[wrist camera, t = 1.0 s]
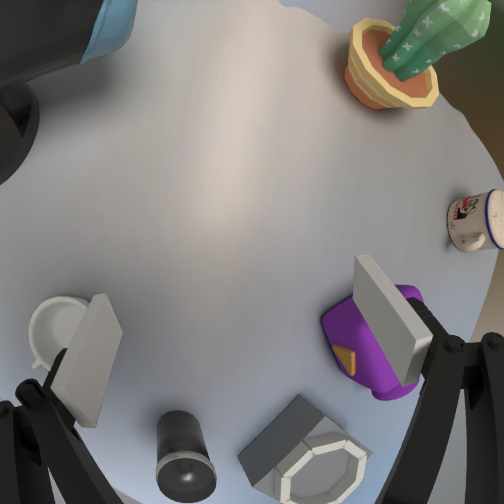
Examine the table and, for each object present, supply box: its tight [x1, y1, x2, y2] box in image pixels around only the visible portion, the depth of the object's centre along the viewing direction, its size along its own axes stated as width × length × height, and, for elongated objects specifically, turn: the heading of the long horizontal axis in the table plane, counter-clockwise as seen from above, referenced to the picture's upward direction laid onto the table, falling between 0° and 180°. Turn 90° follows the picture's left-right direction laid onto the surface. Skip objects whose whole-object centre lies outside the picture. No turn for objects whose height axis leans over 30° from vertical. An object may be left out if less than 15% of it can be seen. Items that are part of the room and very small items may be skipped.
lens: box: [156, 411, 217, 503], centre depth 27 cm, size 5×5×11 cm
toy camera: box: [322, 285, 424, 401], centre depth 34 cm, size 11×14×10 cm
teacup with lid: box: [448, 189, 504, 252], centre depth 39 cm, size 12×9×12 cm
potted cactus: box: [344, 0, 491, 109], centre depth 30 cm, size 15×15×25 cm
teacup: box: [28, 296, 90, 371], centre depth 27 cm, size 10×8×5 cm
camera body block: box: [238, 394, 373, 504], centre depth 31 cm, size 10×11×9 cm
